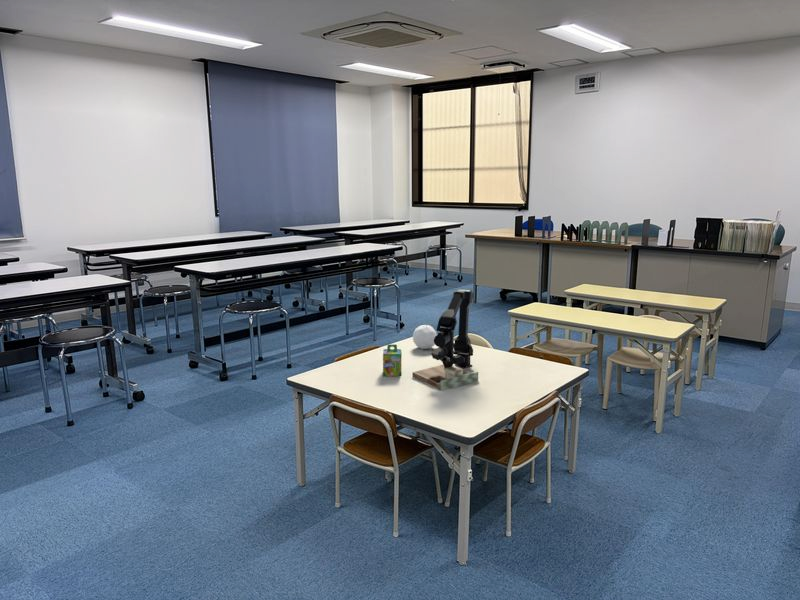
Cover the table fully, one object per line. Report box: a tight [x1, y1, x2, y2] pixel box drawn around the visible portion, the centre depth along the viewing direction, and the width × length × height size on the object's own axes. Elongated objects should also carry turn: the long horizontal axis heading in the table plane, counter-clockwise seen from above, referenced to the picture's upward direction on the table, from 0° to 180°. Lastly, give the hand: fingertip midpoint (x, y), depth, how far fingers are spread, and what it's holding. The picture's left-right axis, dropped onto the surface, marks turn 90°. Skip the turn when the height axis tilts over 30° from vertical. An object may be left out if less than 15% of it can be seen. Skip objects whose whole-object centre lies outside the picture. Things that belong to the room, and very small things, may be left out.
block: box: [445, 365, 464, 379], centre depth 269 cm, size 6×6×4 cm
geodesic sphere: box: [412, 324, 438, 350], centre depth 325 cm, size 15×14×14 cm
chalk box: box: [382, 343, 403, 378], centre depth 283 cm, size 9×9×15 cm
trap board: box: [412, 364, 479, 392], centre depth 275 cm, size 22×23×4 cm
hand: (447, 372), depth 274 cm, fingers closed
